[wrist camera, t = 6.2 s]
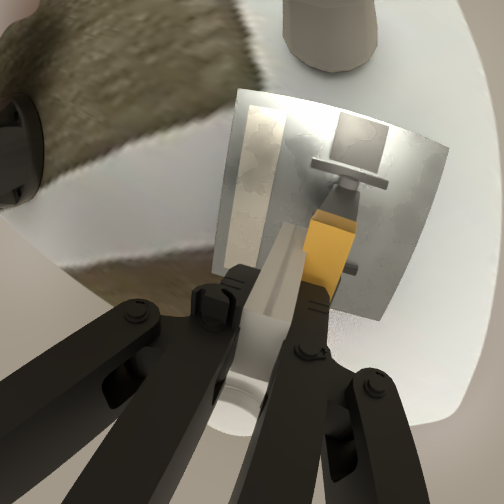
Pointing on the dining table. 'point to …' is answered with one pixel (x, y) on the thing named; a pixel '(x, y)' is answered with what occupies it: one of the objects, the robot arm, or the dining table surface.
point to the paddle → (331, 235)
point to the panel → (325, 189)
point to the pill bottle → (238, 405)
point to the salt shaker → (330, 32)
